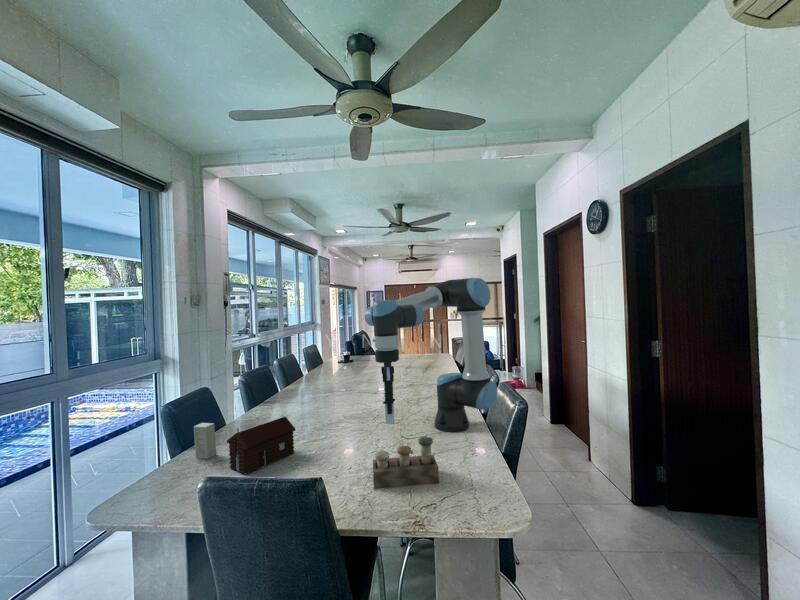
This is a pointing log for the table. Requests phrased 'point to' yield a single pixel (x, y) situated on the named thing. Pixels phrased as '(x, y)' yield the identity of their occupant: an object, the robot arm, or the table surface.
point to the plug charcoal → (426, 450)
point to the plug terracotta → (404, 455)
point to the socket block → (405, 473)
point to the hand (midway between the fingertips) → (390, 423)
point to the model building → (261, 445)
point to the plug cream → (382, 459)
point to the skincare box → (205, 440)
